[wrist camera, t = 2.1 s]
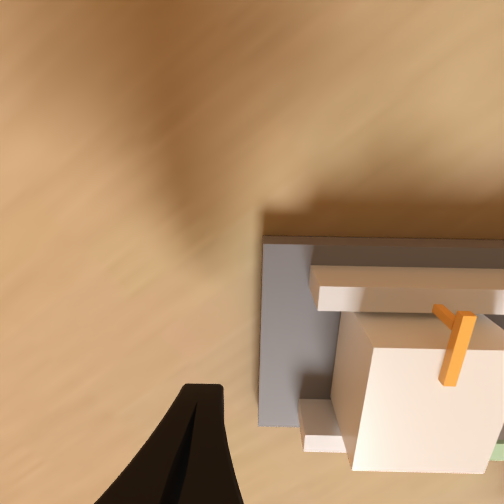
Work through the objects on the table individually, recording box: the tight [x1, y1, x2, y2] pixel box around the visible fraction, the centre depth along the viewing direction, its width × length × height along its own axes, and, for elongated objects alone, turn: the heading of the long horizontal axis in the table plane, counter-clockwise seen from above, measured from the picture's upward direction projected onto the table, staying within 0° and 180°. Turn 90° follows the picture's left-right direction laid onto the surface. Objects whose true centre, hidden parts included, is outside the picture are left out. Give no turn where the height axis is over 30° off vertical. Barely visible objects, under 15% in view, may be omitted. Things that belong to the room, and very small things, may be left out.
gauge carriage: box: [330, 304, 504, 474], centre depth 12 cm, size 8×7×4 cm
